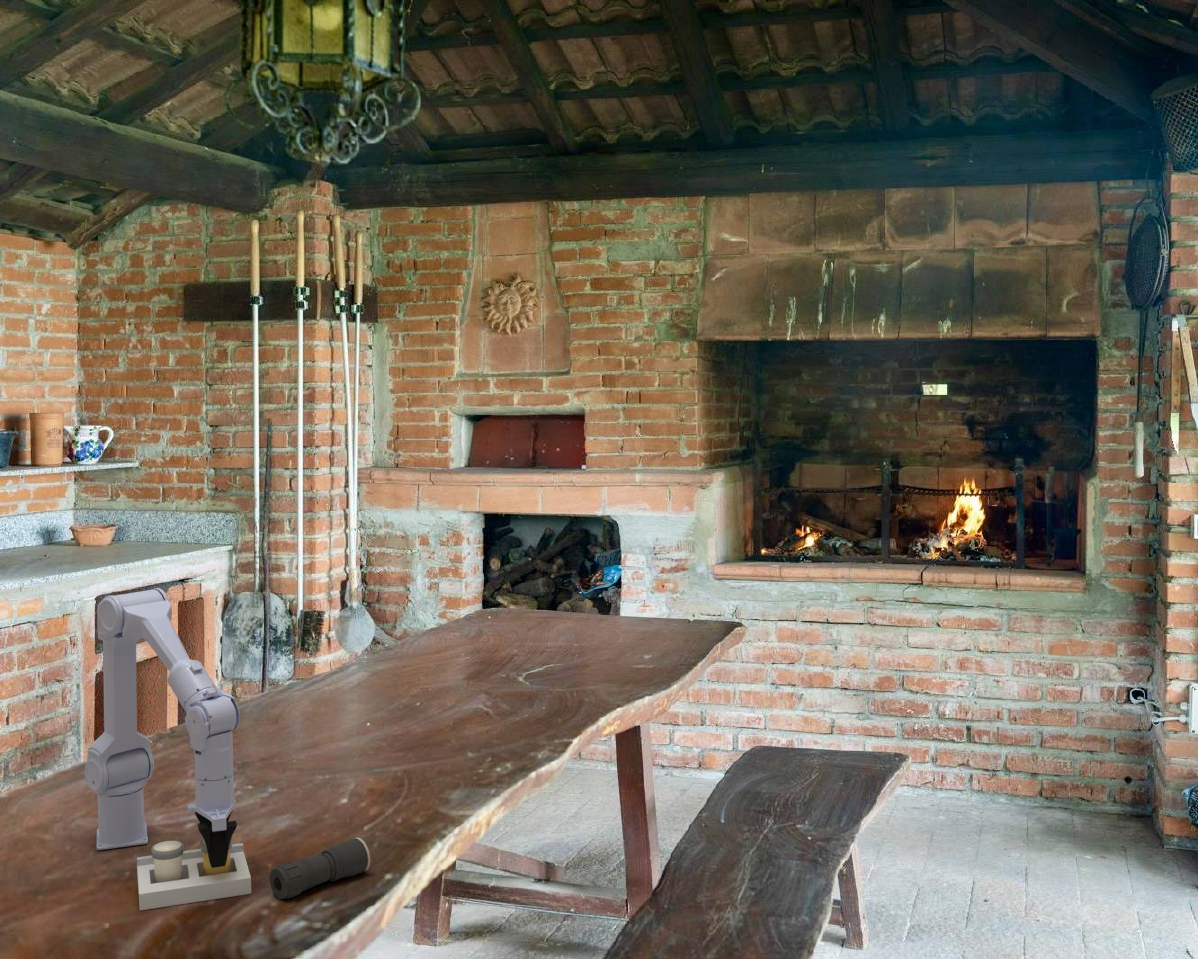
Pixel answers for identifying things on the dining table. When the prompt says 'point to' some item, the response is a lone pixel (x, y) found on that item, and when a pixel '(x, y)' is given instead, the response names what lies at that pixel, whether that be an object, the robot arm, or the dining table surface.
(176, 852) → the cream grey-rimmed peg
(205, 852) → the yellow cylinder grey rim
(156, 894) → the housing
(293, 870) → the flashlight
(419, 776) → the dining table surface
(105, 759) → the robot arm
